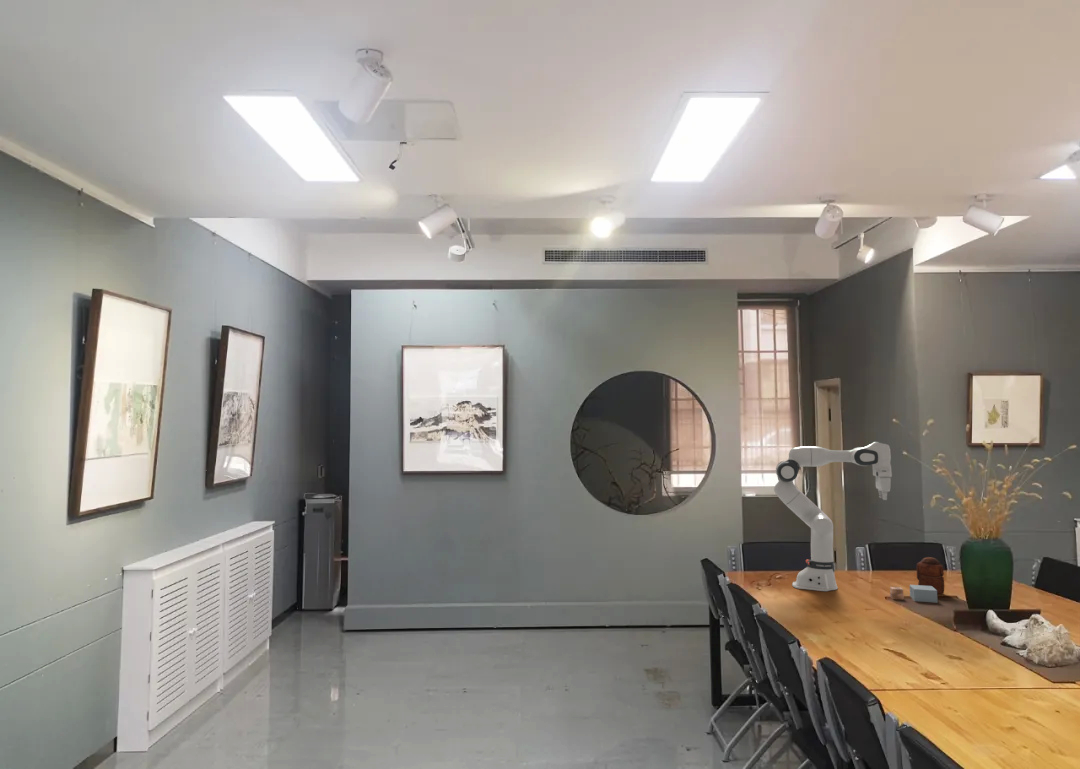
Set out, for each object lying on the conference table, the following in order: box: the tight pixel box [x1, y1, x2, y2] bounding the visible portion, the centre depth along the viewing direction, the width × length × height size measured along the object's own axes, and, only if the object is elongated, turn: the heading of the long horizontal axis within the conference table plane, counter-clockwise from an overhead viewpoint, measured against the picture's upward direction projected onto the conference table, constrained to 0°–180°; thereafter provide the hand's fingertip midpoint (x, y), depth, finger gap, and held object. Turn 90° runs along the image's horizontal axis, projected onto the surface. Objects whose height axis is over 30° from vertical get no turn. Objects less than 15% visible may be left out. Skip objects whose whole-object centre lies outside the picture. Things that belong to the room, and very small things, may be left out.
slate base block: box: [909, 584, 939, 603], centre depth 327 cm, size 10×10×6 cm
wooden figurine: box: [916, 556, 945, 595], centre depth 341 cm, size 12×6×18 cm, turn 72°
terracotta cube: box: [889, 586, 904, 601], centre depth 330 cm, size 5×5×5 cm
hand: (883, 499), depth 346 cm, fingers open, 8 cm apart
